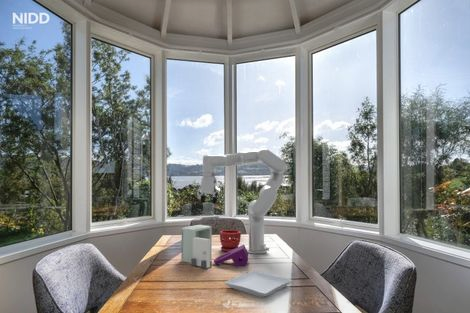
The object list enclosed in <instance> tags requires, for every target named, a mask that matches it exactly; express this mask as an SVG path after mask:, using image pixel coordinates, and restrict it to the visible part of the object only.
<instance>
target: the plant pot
mask: <svg viewBox="0 0 470 313" xmlns="http://www.w3.org/2000/svg"><path fill="white" fill-rule="evenodd" d="M241 235H242V233H241V231H240V230H236V229H235V230H233V229H226V230H220V232H219V241H220V244H221V247H220V249H221V251H223V252H225V253H227V252H229V251H231V250H233V249H235V248H237V247H239V246H240V244H241V243H240V242H241V239H242V238H241Z"/></svg>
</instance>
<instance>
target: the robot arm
mask: <svg viewBox="0 0 470 313" xmlns="http://www.w3.org/2000/svg"><path fill="white" fill-rule="evenodd" d="M254 164H264V165H266V166H267V167H268V168H269V171H270V175H269V178H267V181H266V183H264V185H263V186H262V187H261V188H260V190H259V193H258V195H259V196H258V197H257V199H255V200H252V201H250V203H249V204H248V207H247V211H248V212H247V214H248V247H247V248H246V250H247V252H248V254H253V255H254V254H256V255H257V254H258V255H259V254H260V255H261V254H264V253H265V254H266V253H267V252H268V251H270V247H269V246H267V245H266V244H265V216H266V214H267V213H268V212H269V211H270V209H271V208H272V206H273V205H274V204H275V202H276V201H277V199H278V190H279V188H280V187H281V186H282V184H283V182H284V172H285V170H286V168H287V164H286V162H285V161H284V160H283V158H280V156H278V155H276V154H275V153H274V152H272V151H271V150H270V149H268V148H260V149H253V150H244V151H239V152H236V153H230V154H217V155H213V154H205V155H203V157H202V177H201V182H200V183H201V184H200V187H198V188H197V191H198V194H199V197H200V203H201V204H203V203H205V202H206V196H205V195H206V194H208V195H209V194H210V195H212V204H214V205H215V204H218V197H219V196H220V193H221V189H220V188H218V181H217V177H216V175H217V173H216V167H218V168H224V167H225V168H226V167H232V166H233V167H234V166H245V165H254Z"/></svg>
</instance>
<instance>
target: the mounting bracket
mask: <svg viewBox="0 0 470 313" xmlns="http://www.w3.org/2000/svg"><path fill="white" fill-rule="evenodd" d="M246 249H247V248H246V245H245V244H242V245H239V246H238V247H237V248H235V249H233V250H231V251H229V252H225V253H223V254H221V255H219V256H217V257H216V258H214V259H213V263H214V265H215V266H218V265H221V264H223V263H224V262H225V263H226V262H227V261H229V260H232V262H233V264H234V265H235V266H236V267H239V268H243V267H246V266H247V264H248V262H249V253H248V252H247V250H246Z"/></svg>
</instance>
